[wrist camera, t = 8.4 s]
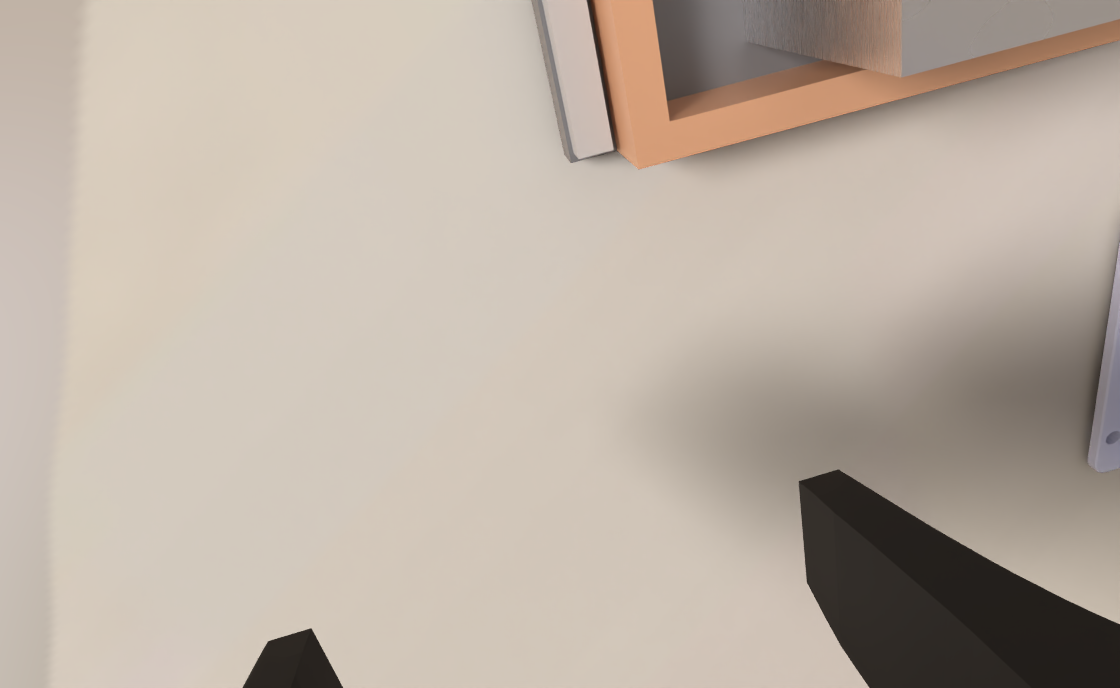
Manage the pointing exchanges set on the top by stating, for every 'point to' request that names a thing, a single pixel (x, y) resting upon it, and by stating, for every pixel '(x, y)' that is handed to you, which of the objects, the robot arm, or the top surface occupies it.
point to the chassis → (716, 77)
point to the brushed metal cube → (914, 28)
